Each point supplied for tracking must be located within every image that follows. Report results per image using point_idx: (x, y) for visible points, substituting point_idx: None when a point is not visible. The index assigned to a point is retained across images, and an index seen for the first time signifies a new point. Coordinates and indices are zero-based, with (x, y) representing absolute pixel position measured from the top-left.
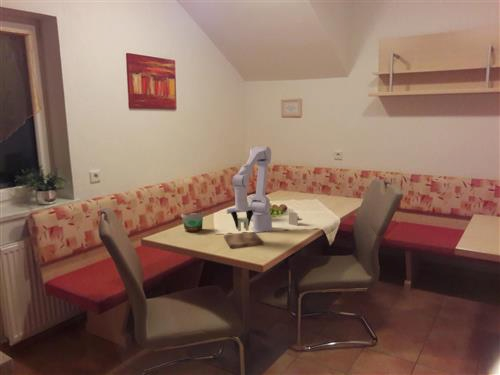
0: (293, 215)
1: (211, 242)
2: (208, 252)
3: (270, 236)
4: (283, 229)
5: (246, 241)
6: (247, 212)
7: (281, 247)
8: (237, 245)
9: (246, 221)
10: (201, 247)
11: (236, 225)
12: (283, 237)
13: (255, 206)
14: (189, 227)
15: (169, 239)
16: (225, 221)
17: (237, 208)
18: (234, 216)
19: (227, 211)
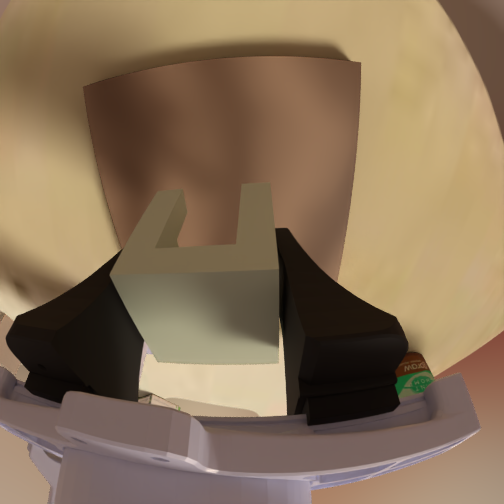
0: (2, 352)
1: (417, 226)
2: (476, 73)
3: (58, 228)
4: (31, 298)
5: (207, 107)
6: (97, 386)
7: (17, 34)
8: (298, 57)
9: (145, 251)
10: (480, 170)
11: (293, 237)
12: (6, 198)
13: (2, 427)
14: (426, 369)
15: (496, 303)
16: (260, 412)
17: (295, 500)
18: (368, 316)
19: (472, 407)
